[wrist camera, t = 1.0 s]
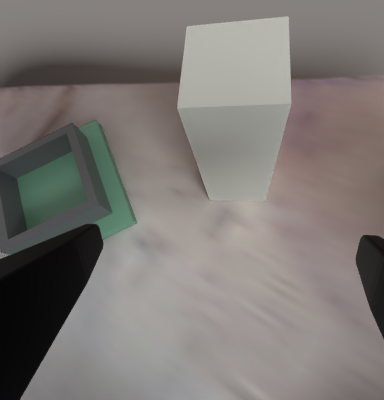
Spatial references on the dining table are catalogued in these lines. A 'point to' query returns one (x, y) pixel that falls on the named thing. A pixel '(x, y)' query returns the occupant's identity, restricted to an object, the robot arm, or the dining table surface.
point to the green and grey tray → (61, 188)
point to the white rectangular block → (236, 103)
